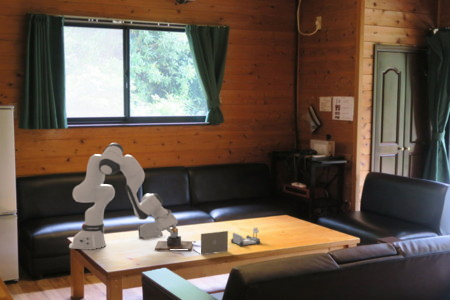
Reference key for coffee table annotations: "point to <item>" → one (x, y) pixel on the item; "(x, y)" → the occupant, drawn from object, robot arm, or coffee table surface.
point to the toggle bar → (174, 234)
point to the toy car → (241, 241)
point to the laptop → (214, 242)
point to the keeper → (173, 244)
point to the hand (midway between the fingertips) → (175, 232)
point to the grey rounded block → (149, 230)
